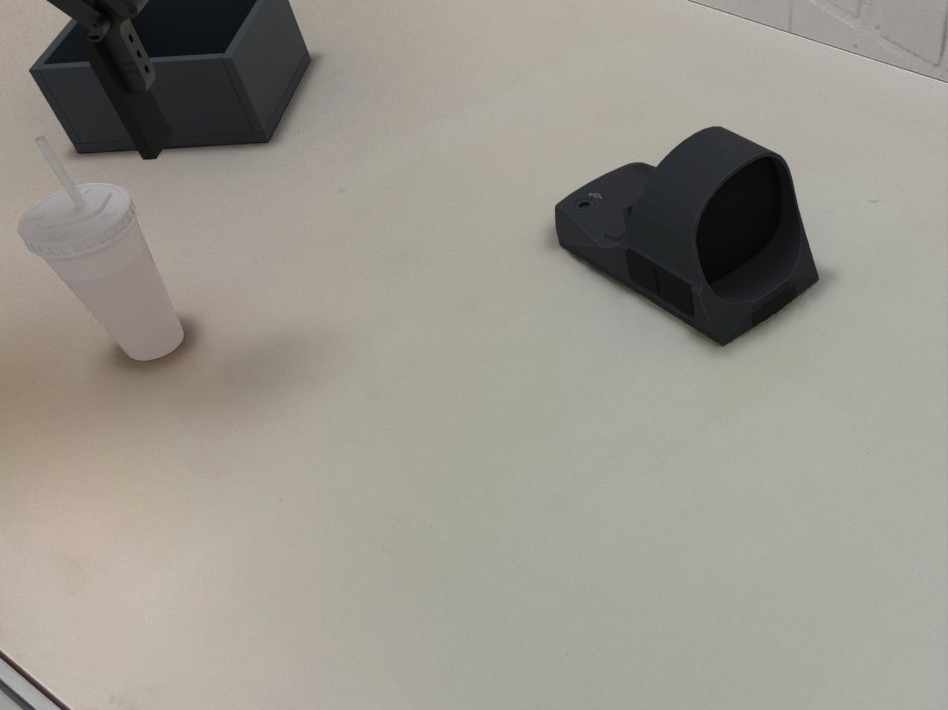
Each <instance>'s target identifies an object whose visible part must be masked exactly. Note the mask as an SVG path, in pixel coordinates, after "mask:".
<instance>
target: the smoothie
mask: <svg viewBox="0 0 948 710" xmlns="http://www.w3.org/2000/svg"><path fill="white" fill-rule="evenodd" d="M34 142H35V143H36V145H37V146H38V148H39V149H40V151H41V153H42V154H43V156H44V157H45V160H46V161H47V162H48V164H49V165H50V167H51V168H52V170H53V172H54V174H55V175H56V177H57V178H58V179H59V182H60V183H61V185H62V186H63V188H61V189H59V190H56V191H54V192H52V193H50V194H47V195H46V196H44V197H42V198H40V199H39V200H38V201H36V202H35V203H33V204H32V205H31V206H30V207H28V208H27V209H26V210H25V212H24V213H23V214H22V215H21V217H20V219H19V221H18V224H17V232H18V235H19V236H20V238H21V239H22V241H23V243H24V245H25V247H26V248H27V250H28V252H30V253H32V254H33V255H35V256H37V257H41V258H42V259H43V260H44V261H45V262H46V263H47V265H48V266H49V267H50V269H52V271H53V272H54V273H55V274H56V275H57V276H58V277H59V278H60V280H61V281H62V282H63V283H64V284H65V285H66V287H68V289H69V290H70V291H71V292H72V293H73V295H74V296H76V298H77V299H78V300H79V301H80V302H81V303H82V305H83V306H84V307H85V308H86V310H87V311H88V312H89V313H90V314H91V315H92V316H93V317H94V319H95V320H96V321H97V322H98V323H99V324H100V325H101V327H103V329H104V330H105V331H106V332H107V333H108V335H109V336H110V337H111V338H112V339H113V340H114V342H116V343H117V345H118V346H119V347H120V348H121V349H122V351H123V352H124V353H125V354H126V355H127V356H128V357H129V358H130V359H133V360H136V361H142V362H143V361H144V362H145V361H146V362H147V361H153V360H156V359H160V358H163V357H165V356H167V355H169V354H171V353H172V352H174V351H175V350H176V349H177V348H179V347H180V345H181V344H182V343H183V341H184V338H185V331H184V330H183V326H182V324H181V322H180V320H179V316H178V314H177V312H176V309H175V307H174V304H173V303H172V300H171V298H170V295H169V292H168V290H167V289H166V286H165V284H164V281H163V279H162V276H161V274H160V272H159V269H158V267H157V265H156V262H155V260H154V258H153V254H152V252H151V250H150V248H149V245H148V243H147V241H146V238H145V236H144V233H143V230H142V229H141V228H142V227H141V226H140V224H139V222H138V220H137V219H138V216H139V210H138V205H137V204H136V203H135V202H134V201H133V199H132V197H131V195H130V193H129V192H128V191H127V190H126V189H125V188H124V187H122V186H120V185H117V184H114V183H110V182H87V183H86V182H85V183H80V184H75V182H74V181H73V180H72V178H71V176H70V175H69V173H68V171H67V170H66V168H65V167H64V165H63V163H62V162H61V160H60V158H59V157H58V156H57V154H56V152H55V151H54V149H53V147H52V145H51V144H50V141H48V138H47V137H46V136H45V135H39V136H36V137H35V138H34Z"/></svg>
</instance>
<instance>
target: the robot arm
mask: <svg viewBox="0 0 948 710" xmlns="http://www.w3.org/2000/svg"><path fill="white" fill-rule="evenodd" d="M148 1H149V0H46V2H48V3H49V4H51V5H52V6H54V8H56V9H58V10H59V11H61V12H62V13H64V14H65V15H66V16H68V17H70V18H71V19H74V20H75V21H77V22H78V23H80V24H81V25H82V26H84V27H85V28H86V29H85V30H84V32H83V33H82V34H81V35H80V36H79V38H78V39H77V42H78V44H79V45H80V47H81V49H82V51H83V53H84V54H85V56H86V58H87V60H88V62H89V63H90V65H91V67H92V69H93V71H94V72H95V74H96V76H97V78H98V80H99V81H100V83H101V85H102V87H103V89H104V90H105V92H106V94H107V96H108V98H109V100H110V101H111V103H112V105H113V107H114V109H115V110H116V112H117V114H118V116H119V118H120V119H121V121H122V123H123V125H124V127H125V128H126V130H127V132H128V134H129V136H130V137H131V139H132V141H133V143H134V145H135V147H136V148H137V150H136V151H137V152H138V154H139V156H140V157H141V159H142V161H148V160H149V161H151V160H157V159H158V157H159V156H160V154H161V152H162V151H163V150H164V149H165V148H164V146H165V145H166V143H167V141H168V140H169V138H170V137H171V135H172V134H173V132H172V130H171V128H170V126H169V125H168V123H167V121H166V119H165V117H164V115H163V113H162V111H161V109H160V107H159V105H158V103H157V101H156V99H155V98H154V96H153V94H152V92H151V90H150V88H149V87H150V86H151V84H152V83H153V81H154V80H155V79H156V78H155V69H154V67H153V65H152V63H151V61H150V59H149V58H148V55H147V53H146V51H145V50H144V47H143V45H142V43H141V41H140V39H139V37H138V35H137V33H136V31H135V30H134V28H133V26H132V23H131V21H130V19H133V18H135V17H136V16H137V15H138V13H139V12H140V11H141V10H142V9H143V7H144V6H145V5H146V3H147V2H148Z"/></svg>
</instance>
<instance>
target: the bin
mask: <svg viewBox="0 0 948 710" xmlns="http://www.w3.org/2000/svg"><path fill="white" fill-rule="evenodd" d="M291 5H292V4H291V2H290V0H149V1H148V2H147V3H146V5H145V6H144V7H143V9H142V10H141V11H140V12H139V13H138V15H137V16H136V17H135V18H133V19H130V21H131V23H132V26H133V28H134V30H135V31H136V33H137V35H138V37H139V39H140V41H141V43H142V45H143V47H144V50H145V51H146V53H147V55H148V58H149V59H150V61H151V63H152V65H153V67H154V69H155V78H156V79H155V80H154V81H153V83H152V84H151V86H150V87H149V88H150V90H151V92H152V94H153V96H154V98H155V99H156V101H157V103H158V105H159V107H160V109H161V111H162V113H163V115H164V117H165V119H166V121H167V123H168V125H169V126H170V128H171V130H172V132H173V134H172V135H171V137H170V138H169V140H168V141H167V143H166V145H165V146H164V148H163V149H169V148H172V149H173V148H186V147H187V148H188V147H203V146H204V147H205V146H222V145H223V146H224V145H237V144H255V143H268V142H270V139H271V137H272V135H273V134H274V132H275V130H276V128H277V126H278V124H279V122H280V120H281V118H282V116H283V114H284V112H285V110H286V108H287V107H288V104H289V102H290V100H291V98H292V96H293V95H294V92H295V91H296V89H297V86H298V84H299V83H300V81H301V79H302V77H303V75H304V74H305V71H306V69H307V67H308V65H309V64H310V61H311V59H312V58H311V54H310V52H309V50H308V48H307V45H306V42H305V39H304V36H303V33H302V31H301V28H300V26H299V24H298V22H297V21H298V20H297V19H296V18H297V17H296V16H295V13H294V9H293V8H292V6H291ZM85 29H86V28H85V27H84V26H82V25H81V24H80V23H78V22H77V21H75V20H74V19H72V18H71V19H69V21H68V22H67V23H66V24H65V26H64V27H63V28H62V29H61V31H60V32H58V34H57V35H56V37H55V38H54V39H53V40H52V41H51V43H50V44H48V46H47V47H46V49H45V50H44V51H43V52H42V53H41V54H40V56H39V57H38V58H37V59H36V61H35V62H34V63H33V64H31V65H32V66H30V67H29V69H28V71H29V74H30V75H31V77H32V79H33V80H34V82H35V84H36V86H37V87H38V89H39V90H40V92H41V94H42V96H43V97H44V99H45V100H46V102H47V104H48V105H49V108H50V109H51V111H52V112H53V114H54V116H55V117H56V119H57V120H58V122H59V124H60V126H61V127H62V129H63V131H64V132H65V134H66V136H67V137H68V139H69V141H70V142H71V144H72V146H73V147H74V149H75V151H76V152H77V154H83V153H102V152H120V151H135V150H136V151H138V150H137V148H136V147H135V145H134V143H133V141H132V139H131V137H130V136H129V134H128V132H127V130H126V128H125V127H124V125H123V123H122V121H121V119H120V118H119V116H118V114H117V112H116V110H115V109H114V107H113V105H112V103H111V101H110V100H109V98H108V96H107V94H106V92H105V90H104V89H103V87H102V85H101V83H100V81H99V80H98V78H97V76H96V74H95V72H94V71H93V69H92V67H91V65H90V63H89V62H88V60H87V58H86V56H85V54H84V53H83V51H82V49H81V47H80V45H79V44H78V42H77V39H78V38H79V36H80V35H81V34H82V33H83V32H84V30H85Z"/></svg>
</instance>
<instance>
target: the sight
mask: <svg viewBox="0 0 948 710" xmlns="http://www.w3.org/2000/svg"><path fill="white" fill-rule="evenodd" d="M799 207H800V206H799V203H798V199H797V193H796V188H795V183H794V180H793V176H792V171H791V169H790V166H789V164H788V163H787V161H786V159H785V158H784V157H783V156H782V155H781V154H779V153H777V152H775V151H773V150H771V149H769V148H766V147H765V146H762V145H760V144H758V143H756V142H754V141H752V140H751V139H748V138H746V137H744V136H742V135H740V134H738V133H736V132H734V131H732V130H730V129H727V128H726V127H723V126H720V125H713V126H712V125H711V126H708V127H705V128H702V129H700V130H698V131H697V132H694V133H693V134H691V135H689V136H688V137H686V138H685V139H683V140H682V141H681V142H680V143H678V144H677V145H676V146H674V147H673V148H672V149H671V150H670V152H668V153H667V154H666V155H665V156H664V157H663V158H662V159H661V160H660V161H659V163H658V164H657V165H656V166H655V165H652V164H649V163H646V162H641V161H634V162H630V163H626V164H624V165H622V166H619V167H617V168H615V169H613V170H610V171H608V172H606V173H604V174H602V175H600V176H598V177H596V178H594V179H593V180H590V181H588V182H587V183H585V184H584V185H582V186H581V187H579V188H577V189H575V190H574V191H572V192H571V193H569V194H568V195H566V196H565V197H564V198H563V199H561V200H560V201H559V202H557V203H556V204H555V206H554V223H555V231H556V234H557V240H558V243H559V245H560V246H561V247H563V248H565V249H566V250H568V251H569V252H571V253H573V254H574V255H576V256H577V257H579V258H580V259H582V260H584V261H585V262H587V263H588V264H590V265H592V266H594V267H595V268H597V269H598V270H600V271H601V272H603V273H604V274H606V275H608V276H609V277H611V278H613V279H614V280H616V281H617V282H619V283H620V284H623V286H626V287H627V288H629V289H630V290H632V291H633V292H635V293H637V294H638V295H640V296H642V298H645V299H646V300H648V301H650V302H651V303H653V304H655V306H658V307H659V308H661V309H662V310H664V311H665V312H667V313H669V314H671V315H672V316H674V317H675V318H677V319H678V320H680V321H681V322H683V323H685V324H687V325H688V326H690V327H691V328H693V329H694V330H696V331H698V332H699V333H701V334H702V335H704V336H706V337H707V338H709V339H710V340H712V341H714V342H715V343H716V344H718V345H720V346H722V347H723V346H726V345H728V344H729V343H730V342H732V341H734V340H735V339H737V338H739V337H741V336H742V335H743V334H745V333H747V332H748V331H750V330H752V329H753V328H755V327H757V326H759V325H760V324H761V323H763V322H765V321H766V320H768V319H769V318H771V317H773V316H774V315H775V314H777V313H778V312H779V311H781V310H782V309H784V308H785V307H786V306H787V305H789V304H790V303H791V302H792V301H794V300H795V299H796V298H797V297H799V296H800V295H802V294H803V293H804V292H805V291H807V290H808V289H809V288H810V287H812V286H813V285H814V284H815V283H817V282H818V281H819V280H820V275H819V273H818V270H817V266H816V262H815V259H814V256H813V253H812V249H811V246H810V243H809V239H808V236H807V232H806V229H805V225H804V222H803V218H802V215H801V214H802V213H801V211H800V208H799Z"/></svg>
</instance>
